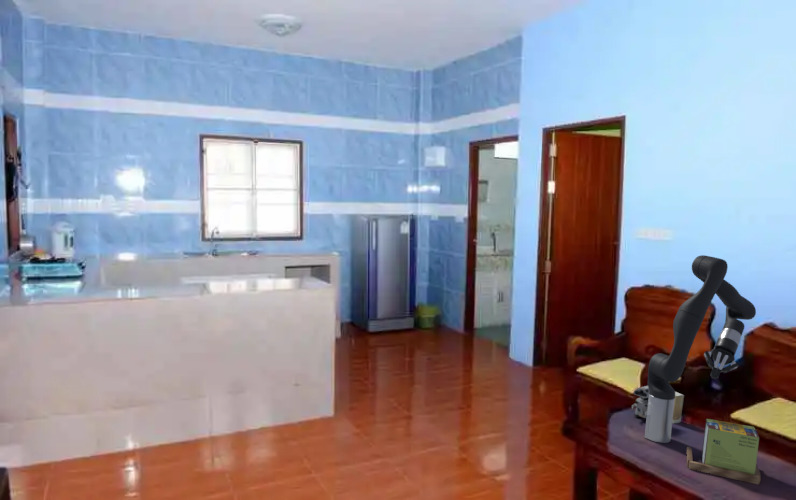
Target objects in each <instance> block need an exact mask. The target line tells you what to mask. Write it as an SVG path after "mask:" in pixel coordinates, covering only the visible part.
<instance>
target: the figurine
mask: <svg viewBox="0 0 796 500" xmlns="http://www.w3.org/2000/svg"><path fill="white" fill-rule="evenodd" d="M633 395H635V396H638V398H636V399H635V403H633V404H632V405H631V411H634V409H635V412H634V415H633V416H634V418H636V419H637V418H644V419H646V418H647V409H648V399H649V388H648V385H644V386H643V384H642V385H641V386H640V387H638V388H636V389H635V390H634V391H633Z"/></svg>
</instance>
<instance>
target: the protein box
mask: <svg viewBox="0 0 796 500" xmlns="http://www.w3.org/2000/svg"><path fill="white" fill-rule="evenodd" d="M759 442H760V436H759V434H758V431H757V430H756V428H755V426H751V425H746V424H745V425H744V424H739V423H734V422H728V421H723V420H717V419H712V418H706V419H705V425H704V435H703V445H702V453H701V463H704V464H708V465H713V466H717V467H722V468H726V469H731V470H736V471H740V472H745V473H749V474H754V475H755V469H756V463H757V460H758V452H759V451H758V450H759V445H760V444H759Z"/></svg>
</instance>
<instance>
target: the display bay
mask: <svg viewBox="0 0 796 500" xmlns="http://www.w3.org/2000/svg"><path fill="white" fill-rule="evenodd" d="M686 454H687V456H686V466H687V468H688V470H691V471H696V470H697V471H696V472H700V471H701V473H706V474H709V473H710V475H714V476H718V477H719V476H720V477H723V478H728V479H731V480H736V481H740V482H745V483H750V484H753V485H760V484H761V479H762V476H761V475H762V474H761V472H760V469H759V466H758V464H757V462H756V469H755V475H754V474H749V473H745V472H740V471H736V470H731V469H726V468H722V467H717V466H713V465H708V464H704V463H702V462H699V461H693V449H692V447H691V446H686Z"/></svg>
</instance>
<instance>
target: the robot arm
mask: <svg viewBox="0 0 796 500" xmlns="http://www.w3.org/2000/svg"><path fill="white" fill-rule="evenodd" d="M691 271H692V273H693V275H694V277H696V278H697V279H699V280H700V281H701V282H702V283H703V284H702V287H701V288H700V289H699V290H698V291H697V292H696V293H694V294H693V295H692V296H691V297H689V298H688V299H687V300H685V301H684V302H683V303H682V304H681V305H680V306H679V308H678V310H677V311H676V312H677V313H676V315H675V317H674V319H673V323H672V328H673V330H672V331H673V338H674V339H673V346H672V349H671V352H670V353H669V355H667V354H664V353H655V354H654V355H653V356H651V358H650V360H649V363H648V369H647V371H648V372H647V386H648V388H649V399H648V409H647V418H645V419H646V421H645V430H644V438H645V439H647V440H649V441H652V442H655V443H662V444H668V443H670V442H671V440H672V439H671V437H672V427H673V423H672V420H673V411H674V401H675V392H676V391H675V389H674V388H673V386H671V384H670V383H675V382H676V381H678V380H679V379H680V378H681V376H682V375H683V372H684V370H685V367H686V362H687V360H688V357H689V354H690V351H691V348H692V347H693V343H694V341H695V338H696V336H697V334H698V333H699V330H700V328H701V326H702V323H703V321H704V319H705V316H706V314H707V312H708V309H709V307H710V305H711V302H712V301H713V299H714V297H715V296H717V297H718V298H719V300H720V301H721V302H722V304H723V305H724V306H725V307H726V308H725V319H724V321H725V322H724V325H723V327H722V330H721V331H720V333H719V336H718V337H717V340H716V342H715V345H714V347H713V349H711V350H710V351H709V350H705V351H704V353H703V357H704V358H705V361H706V364H707V365H708V368H711V369H712V370H711V372H710V377H711V379H712V380H713V379H714V380H716V379H719V377H720V375H721V373H723V374H726V373H728V372H731V371H733V370H737V368H738V367H739V363H737V362H736V361H735V355H736V352H737V350H738V348H739V345H740V342H741V338H742V335H743V333H744V330H745V323H744V322H743V321H741V320H745V321H746V320H752V319H754V318H755V316H756V314H757V311H756V307H755V305H754V304H753V302H752V301H750V300H749V299H747V298H745V297H744V296H742V294H740V292H739V291H738V290H737V289H736V287H735V286H734V285H732V284H731V283H730V282H728V281H727V280H725V277H726V275H727V272H728V263H727V261H726V260H725V259H722V258H719V257H714V256H709V255H704V254H703V255H702V254H700V255H698V256H696V257H695V258H694V260H693V261H692V264H691ZM713 361H714V362H713ZM727 365H728V366H727ZM724 366H726V367H724Z"/></svg>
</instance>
